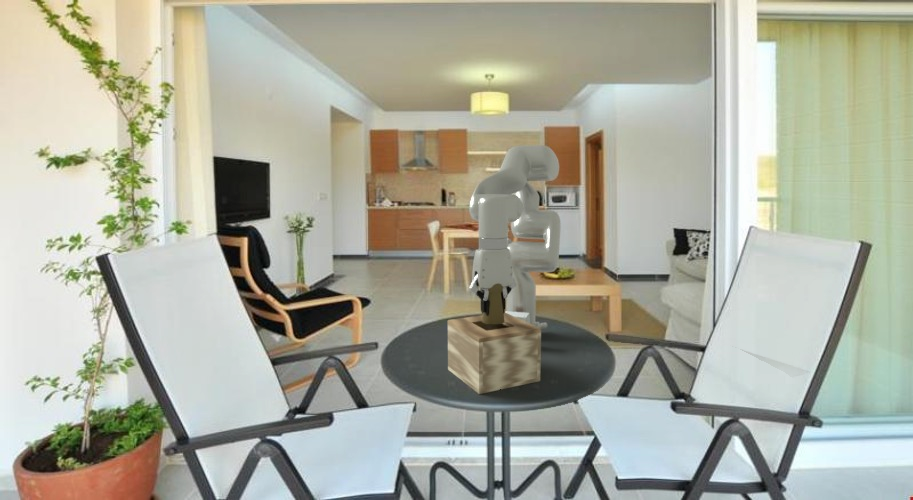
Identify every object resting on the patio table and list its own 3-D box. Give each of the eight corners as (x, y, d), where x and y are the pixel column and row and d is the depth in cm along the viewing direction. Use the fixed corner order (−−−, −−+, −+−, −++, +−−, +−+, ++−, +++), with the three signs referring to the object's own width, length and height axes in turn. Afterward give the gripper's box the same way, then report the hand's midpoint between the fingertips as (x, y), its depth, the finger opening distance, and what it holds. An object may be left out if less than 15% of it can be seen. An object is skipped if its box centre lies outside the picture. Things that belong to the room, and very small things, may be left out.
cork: (503, 325, 130) (503, 283, 128) (480, 323, 131) (479, 282, 129) (505, 318, 136) (505, 278, 134) (483, 317, 137) (483, 277, 135)
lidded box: (504, 359, 147) (504, 312, 145) (540, 380, 131) (541, 328, 129) (448, 369, 139) (447, 320, 137) (479, 394, 123) (479, 338, 121)
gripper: (513, 240, 137) (512, 306, 140) (457, 244, 130) (458, 313, 133) (528, 243, 131) (527, 312, 133) (471, 248, 123) (471, 321, 126)
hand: (493, 312), depth 133 cm, fingers closed on cork, 3 cm apart
